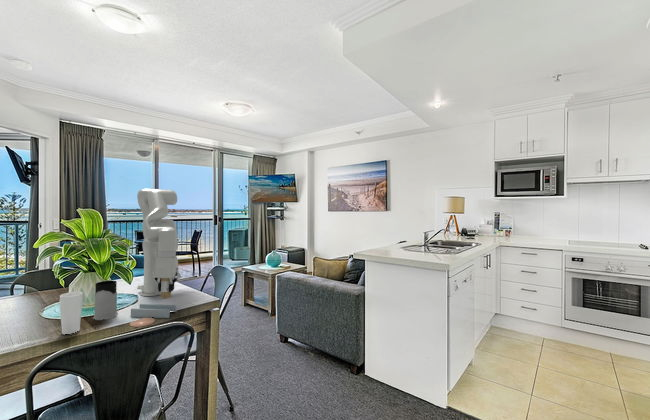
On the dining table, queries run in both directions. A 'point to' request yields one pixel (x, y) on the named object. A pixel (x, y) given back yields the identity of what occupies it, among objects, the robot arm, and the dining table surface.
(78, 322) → the drinking glass
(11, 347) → the dining table surface
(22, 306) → the dining table surface
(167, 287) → the sprinkles bottle
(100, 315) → the glass holder
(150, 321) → the resting disc
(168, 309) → the acrylic walls
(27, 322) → the dining table surface
